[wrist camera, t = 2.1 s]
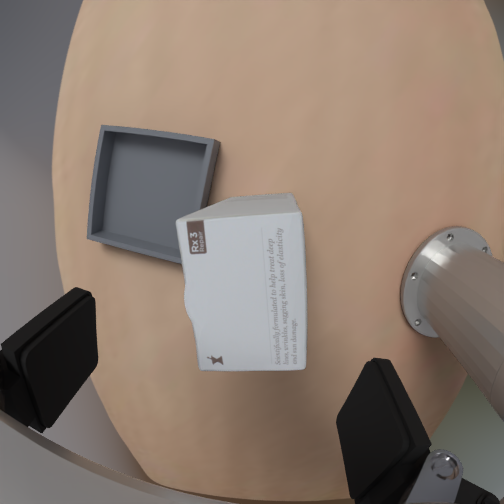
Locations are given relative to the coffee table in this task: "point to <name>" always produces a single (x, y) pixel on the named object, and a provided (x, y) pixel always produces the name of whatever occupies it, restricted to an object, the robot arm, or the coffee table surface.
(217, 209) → the skincare box
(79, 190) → the coffee table surface
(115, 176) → the tray
